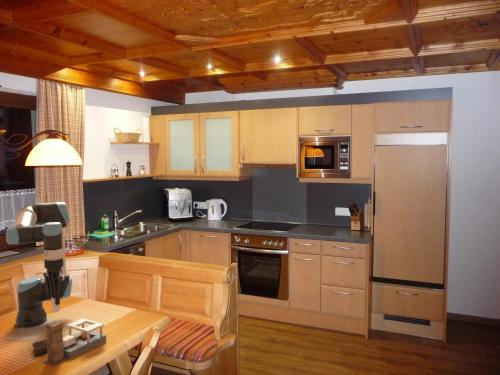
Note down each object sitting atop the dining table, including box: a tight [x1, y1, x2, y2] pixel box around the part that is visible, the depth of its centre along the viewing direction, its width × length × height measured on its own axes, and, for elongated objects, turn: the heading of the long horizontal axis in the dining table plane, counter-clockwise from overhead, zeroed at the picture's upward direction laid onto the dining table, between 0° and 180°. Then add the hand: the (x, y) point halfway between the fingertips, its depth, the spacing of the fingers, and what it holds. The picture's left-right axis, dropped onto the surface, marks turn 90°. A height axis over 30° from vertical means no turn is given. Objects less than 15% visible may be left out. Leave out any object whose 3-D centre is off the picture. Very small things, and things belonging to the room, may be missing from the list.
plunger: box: [80, 331, 90, 341], centre depth 198 cm, size 4×4×4 cm
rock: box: [32, 338, 47, 357], centre depth 191 cm, size 11×10×4 cm
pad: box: [43, 356, 69, 367], centre depth 181 cm, size 7×7×1 cm
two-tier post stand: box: [63, 318, 107, 359], centre depth 194 cm, size 15×20×9 cm
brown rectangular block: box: [45, 320, 64, 363], centre depth 180 cm, size 4×4×16 cm
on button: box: [63, 334, 75, 348], centre depth 189 cm, size 4×5×3 cm
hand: (56, 311), depth 181 cm, fingers closed
